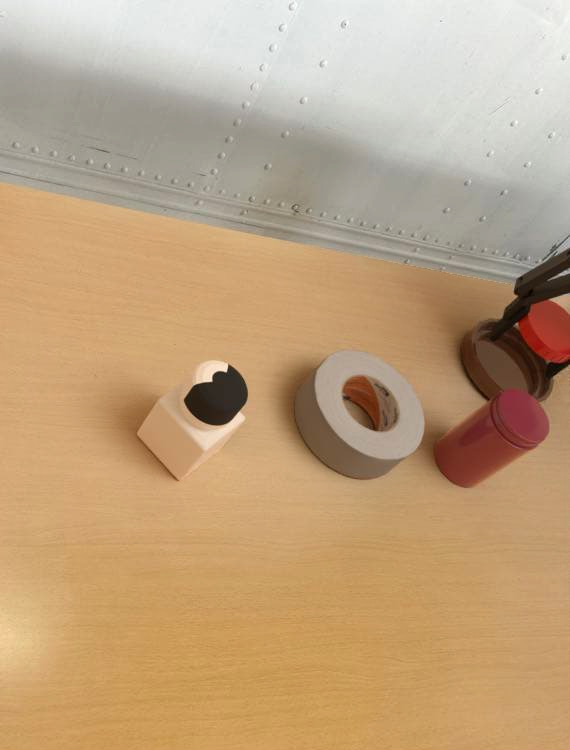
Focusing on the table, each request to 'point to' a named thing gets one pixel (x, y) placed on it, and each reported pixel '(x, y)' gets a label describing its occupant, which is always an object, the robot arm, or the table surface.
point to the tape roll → (341, 431)
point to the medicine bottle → (196, 417)
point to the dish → (504, 362)
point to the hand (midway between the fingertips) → (521, 352)
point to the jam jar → (491, 438)
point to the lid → (547, 331)
